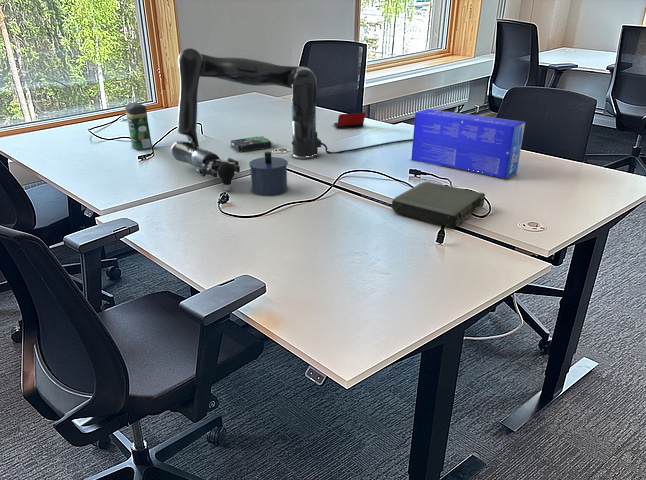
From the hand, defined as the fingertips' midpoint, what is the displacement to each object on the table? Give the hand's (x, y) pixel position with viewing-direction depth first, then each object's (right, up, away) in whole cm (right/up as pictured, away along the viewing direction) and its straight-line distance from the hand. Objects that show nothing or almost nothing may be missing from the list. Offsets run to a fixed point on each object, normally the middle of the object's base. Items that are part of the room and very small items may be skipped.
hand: (227, 172), depth 197 cm
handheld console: (+49, +37, +75) cm, 97 cm away
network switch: (+66, -16, -17) cm, 70 cm away
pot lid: (+14, +3, 0) cm, 14 cm away
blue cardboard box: (+85, +6, +19) cm, 87 cm away
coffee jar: (-43, +23, +55) cm, 73 cm away
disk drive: (+5, +22, +50) cm, 55 cm away
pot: (+14, -5, +4) cm, 15 cm away
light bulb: (0, -6, +4) cm, 7 cm away
